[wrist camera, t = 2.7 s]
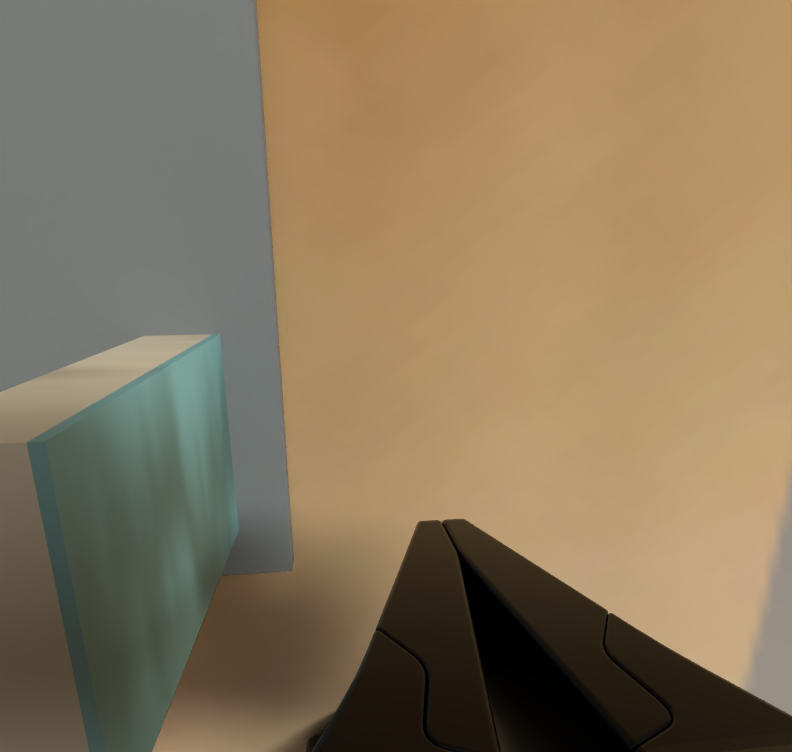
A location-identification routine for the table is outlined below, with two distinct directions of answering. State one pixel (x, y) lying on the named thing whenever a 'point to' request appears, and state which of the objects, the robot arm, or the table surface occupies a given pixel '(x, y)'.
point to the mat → (146, 212)
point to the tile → (110, 540)
